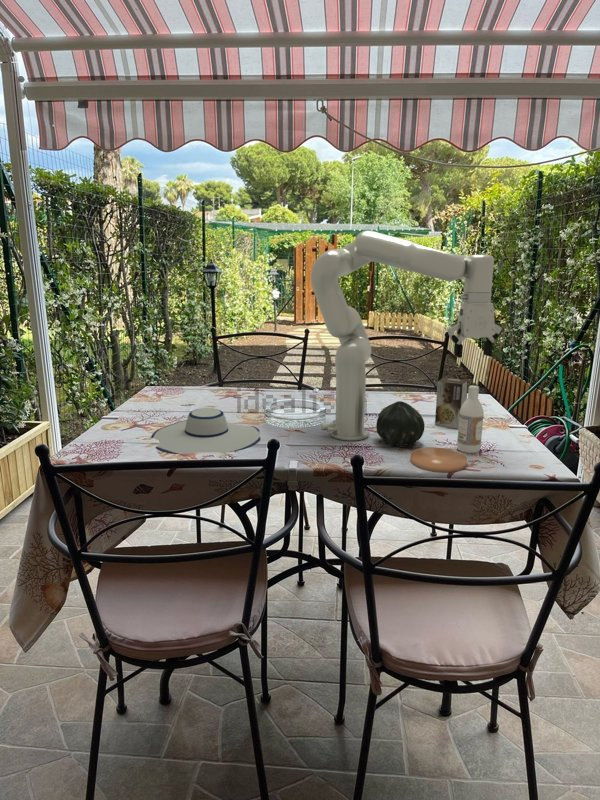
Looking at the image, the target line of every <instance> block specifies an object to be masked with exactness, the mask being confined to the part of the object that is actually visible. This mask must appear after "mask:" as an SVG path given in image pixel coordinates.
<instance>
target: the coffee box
mask: <svg viewBox="0 0 600 800" xmlns="http://www.w3.org/2000/svg"><path fill="white" fill-rule="evenodd" d="M468 385H469V380H464V379H457V378H448V377H442V378H441V379H439V380H437V383H436V403H435V419H434V425H435V426H437V427H445V428H451V429H457V430H458V427H459V415H460V409H461V407H462V405H463V403H464V402H465V401H466V400H467V398H468V389H469V386H468Z"/></svg>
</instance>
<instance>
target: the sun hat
mask: <svg viewBox="0 0 600 800" xmlns="http://www.w3.org/2000/svg"><path fill="white" fill-rule="evenodd" d="M150 438H152V439H155V440H157V441H158V442H159V443H158V444H157V445H156V446H155V449H156V450H158V451H160V452H163V453H167V454H170V455H171V454H172V455H183V454H184V455H185V454H198V453H199V454H200V453H201V454H202V453H204V454H205V453H207V454H208V453H217V454H218V453H234V452H238V451H243V450H245V449H248V448H251V447H253V446H255V445H256V444H258V443H259V442H260V441H261V435H260V429H259V428H258V427H256V426H253V425H243V424H234V423H230V422H228V421H227V418H226V416H225V413H224V412H223V411H222V410H221V409H217V408H212V407H203V408H198V409H193V410H191V411H190V412H189V413H188V416H187V419H185V420H180V421H177V422H174V423H171V424H169V425H166V426H163V427H160V428H159V429H157V430H155V431H154V432H153V433H152V434H151V436H150Z"/></svg>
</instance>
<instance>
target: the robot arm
mask: <svg viewBox="0 0 600 800" xmlns="http://www.w3.org/2000/svg"><path fill="white" fill-rule="evenodd" d="M371 262H373V263H377V264H382V265H385V266H389V267H391V268H395V269H398V270H399V269H400V270H402V271H407V272H413V273H416V274H419V275H423V276H427V277H431V278H434V279H439V280H441V281H445V282H455V281H457V280H461V279H463V280H464V292H463V294H460V297H459V298H460V300H462V301H463V302H461V305H460V308H459V312H458V316H457V323H456V324H454V325H452V326H450V327H449V328H447V330H446V331H447V333H448V337H449V339H450V340H451V341H452V343H453V344H454V349H453V354H454V357H456V358H459V359H461V358H463V350H464V349H463V347H464V346H463V344H462V343H463V342H464V341H465V339H480V338H481V339H484V340H485V341H484V343H483V354H482V355H484V356H486V357H492V353H493V352H492V351H493V344H494V343H495V342H496V340H497V339H498V337H499V335H500V334H501V332H502V330H503V327H502V326H500V325H498V324H496V323H495V308H494V303H493V302H491V301H492V300H491V299H492V287H493V278H494V277H493V275H494V265H495V263H494V262H495V259H494V256H492V255H491V254H471V255H465V254H464V255H463V254H459V253H458V254H457V253H451V252H447V251H443V250H440V249H439V250H438V249H434V248H432V247H427V246H424V245H421V244H419V243H417V242H415V241H413V240H409V239H406V238H401V237H397V236H393V235H389V234H385V233H381V232H377V231H374V230H367V229H366V230H363V231H361V232H360V233H358V234H357V235H356V237H355V238H354V240H353V241H352V242H350V243H348V244H346V245H344V246H342V247H341V248H339V249H335V248H334V249H328V250H326V251H324V252H323V253H321V254H320V256H318V257H317V259H316V260H315V261H314V263H313V266H312V268H311V272H310V282H311V288H312V291H313V293H314V296H315V299H316V301H317V304H318V308H319V310H320V314H321V316H322V318H323V322H324V324H325V327H326V329H327V332H328V333H329V334H330V335H331V336H332V337H334V338H336V339H338V340H339V343H340V345H338V348H337V350H336V351H335V352H336V353H335V355H334V356H335V357H334V362H335V363H334V365H335V420H332V422H331V423H329V424H321V425H320V428H321V431H327V433H329V432H330V436H331V437H332V438H335V439H336V440H341V441H349V442H351V441H361V440H365V439H367V438H368V437H369V433H370V432H369V431H368V429H366V428H365V416H366V415H365V412H366V410H365V409H366V384H367V383H366V380H367V378H366V377H367V375H366V362H367V361H368V360H369V359H370V357H371V355H372V345H371V342H370V339H369V337H368V334H367V331H366V328H365V325H364V323H363V321H362V318H361V316H360V314H359V312H358V311H357V310H356V309H355V308H354V307H352V306H349V304H348V303H347V300H346V298H345V295H344V292H343V290H342V288H341V285H340V283H339V278H342V277H345V276H348V275H350V274H351V273H353V272H355V271H357V270H358V269H361V268H362V267H364V266H366V265H367V264H369V263H371ZM455 332H456V333H455ZM456 334H457V335H456Z"/></svg>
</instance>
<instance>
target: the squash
mask: <svg viewBox="0 0 600 800" xmlns="http://www.w3.org/2000/svg"><path fill="white" fill-rule="evenodd" d="M377 416H378V417H377V419H376V427H375V428H376V433H377V434H378V436H379V437H380V438H381V439H382V440H383V441H385V442H387V444H389V446H392V447H394V446H398V447H400V448H402V447H405V446H409V447H410V446H414V445H415V444H416V443H417V442H418V441H420V440H421V439H422V436H423V435H424V432H425V426H426V425H425V424H426V423H425V421H424V418H423V417H422V415H421V413H420V412H419V411H418V410H416V408H415V407H413V406H412V405H411V404H409V403H407V402H405V401H401V400H398V401H395V402H393V403H391V404H389V405H388V406H386V407H384V408H383V409H381V411H380V412H379V414H378V415H377Z"/></svg>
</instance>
